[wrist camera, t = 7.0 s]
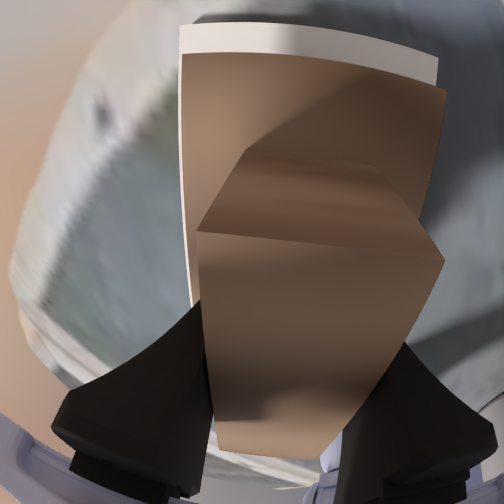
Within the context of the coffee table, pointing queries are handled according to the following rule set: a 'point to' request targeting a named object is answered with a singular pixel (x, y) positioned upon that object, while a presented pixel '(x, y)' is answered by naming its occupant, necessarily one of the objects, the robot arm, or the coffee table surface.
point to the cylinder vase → (500, 414)
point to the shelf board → (301, 122)
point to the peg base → (300, 44)
